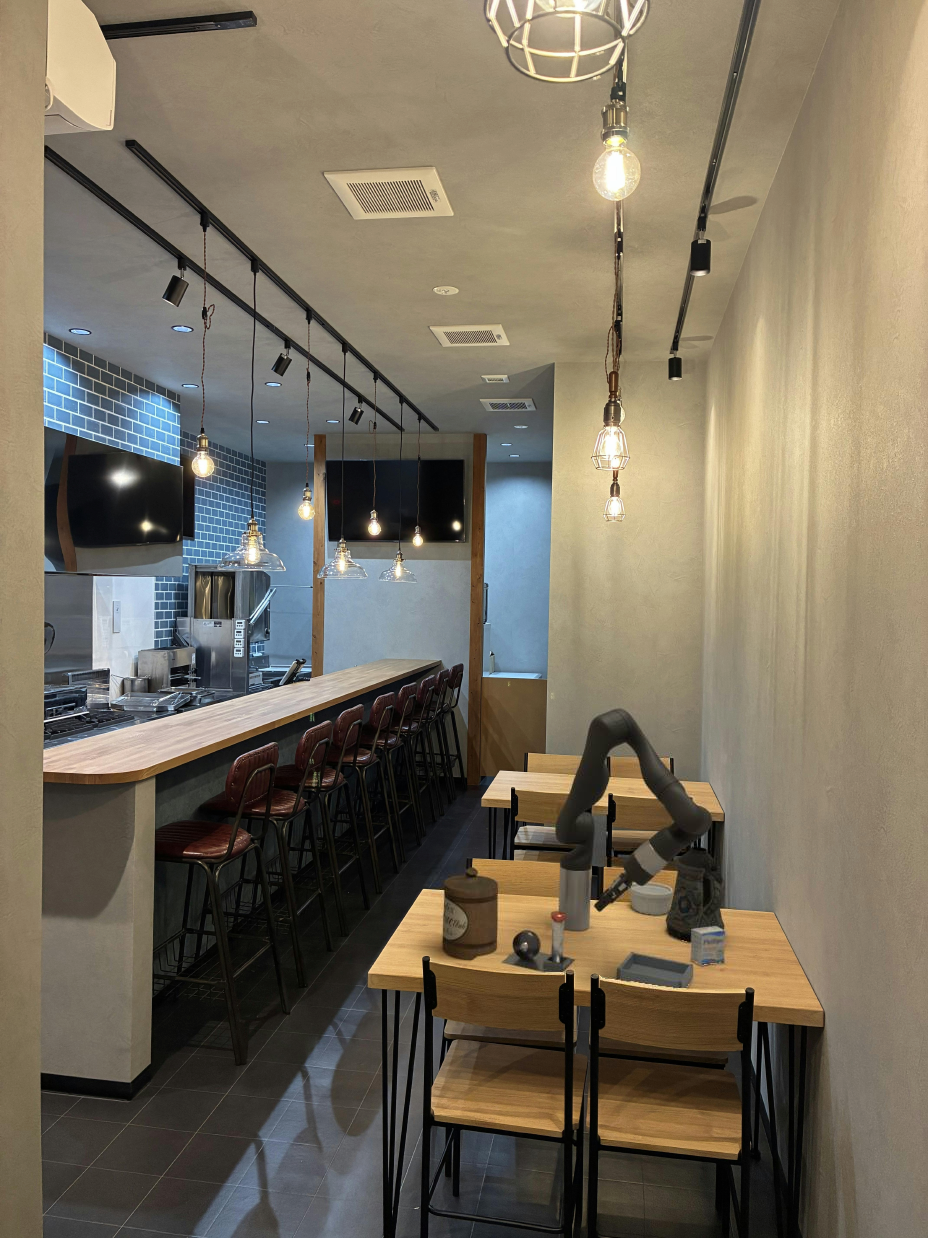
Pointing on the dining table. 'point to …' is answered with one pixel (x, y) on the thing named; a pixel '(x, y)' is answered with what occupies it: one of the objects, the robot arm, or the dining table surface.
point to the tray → (655, 971)
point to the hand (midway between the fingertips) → (599, 904)
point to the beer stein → (695, 894)
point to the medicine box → (707, 945)
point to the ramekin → (651, 898)
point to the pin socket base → (533, 954)
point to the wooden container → (470, 915)
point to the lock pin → (557, 936)
